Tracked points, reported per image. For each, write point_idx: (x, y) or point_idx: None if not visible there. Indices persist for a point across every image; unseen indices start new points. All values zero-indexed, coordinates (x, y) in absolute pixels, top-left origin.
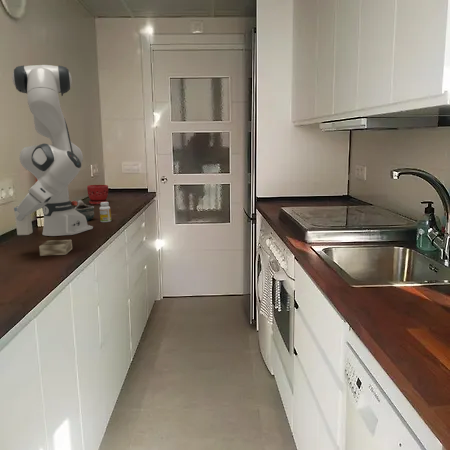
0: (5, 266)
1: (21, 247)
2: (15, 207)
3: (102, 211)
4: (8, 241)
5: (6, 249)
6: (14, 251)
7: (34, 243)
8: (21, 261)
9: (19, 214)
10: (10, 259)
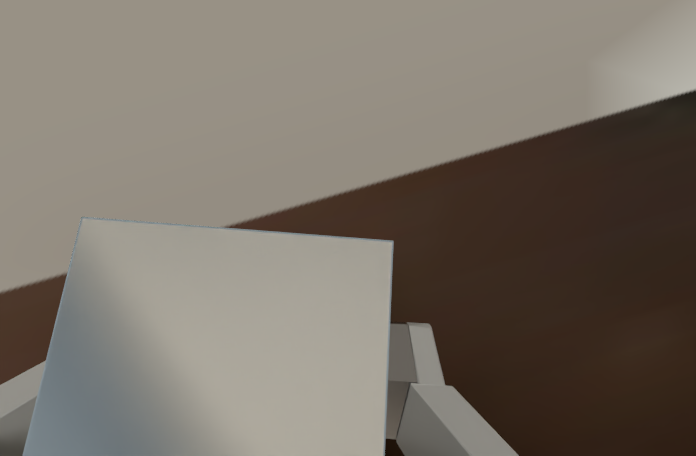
0: (12, 294)
1: (500, 244)
2: (108, 247)
3: None
4: (671, 118)
5: (461, 168)
6: (397, 232)
7: (604, 298)
8: None
9: (29, 375)
10: None
